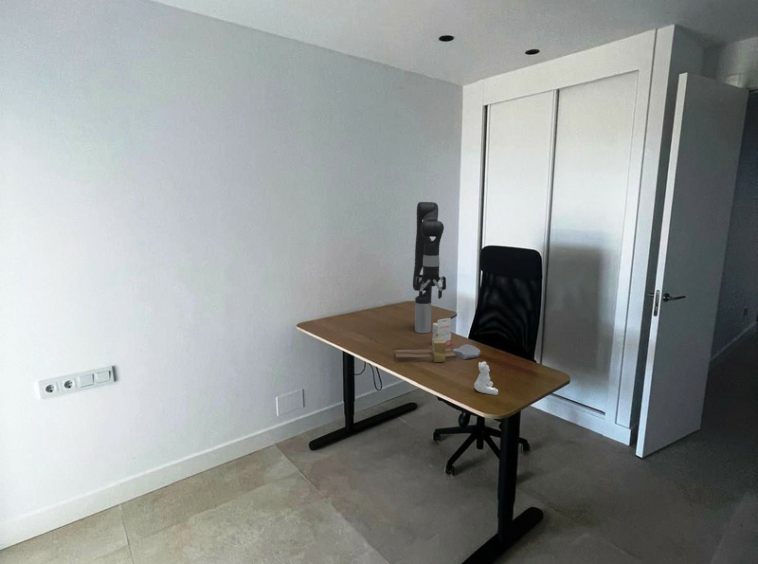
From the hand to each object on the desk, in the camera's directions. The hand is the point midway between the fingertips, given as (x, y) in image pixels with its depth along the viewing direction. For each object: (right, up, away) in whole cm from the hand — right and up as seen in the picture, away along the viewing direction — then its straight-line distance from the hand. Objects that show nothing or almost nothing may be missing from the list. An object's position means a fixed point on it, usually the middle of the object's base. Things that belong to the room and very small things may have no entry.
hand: (430, 298), depth 199 cm
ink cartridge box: (+9, -25, +23) cm, 36 cm away
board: (-2, -29, +5) cm, 29 cm away
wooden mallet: (+4, -28, +6) cm, 29 cm away
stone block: (+19, -29, +8) cm, 35 cm away
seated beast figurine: (+18, -36, -30) cm, 50 cm away
